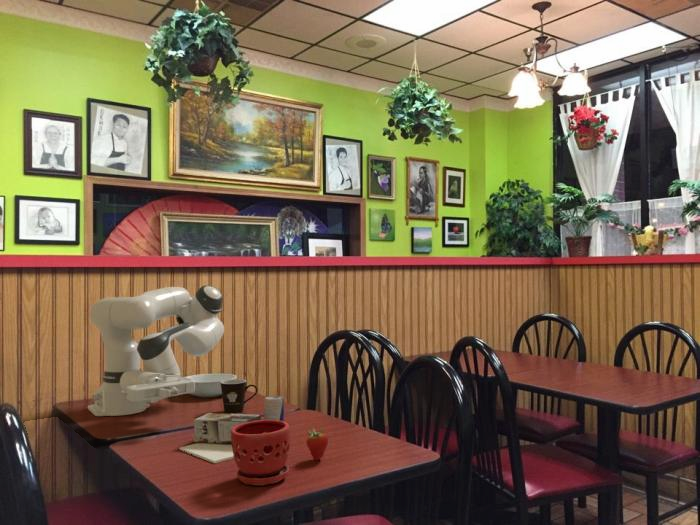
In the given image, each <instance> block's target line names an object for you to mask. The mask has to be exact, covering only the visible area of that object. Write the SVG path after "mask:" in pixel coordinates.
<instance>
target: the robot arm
mask: <svg viewBox="0 0 700 525" xmlns="http://www.w3.org/2000/svg"><path fill="white" fill-rule="evenodd" d="M223 299H224V298H223V294H222V292H221V291H220V290H219V289H218V288H217V287H215V286H213V285H207V284H206V285H202V286H201V287H200V288H198V289H197V290H196V291H195V294H194V295H193V296H192V297H191V294H190V292H189V291H188V290H187V289H186V288H184V287H182V286H167V287H162V288H157V289H153V290H148V291H144V292H142V293H141V294H140V295H137V296H125V297H122V296H121V297H117V296H115V297H112V296H110V297H109V296H108V297H104V298H102V299H98V300H95V302H94V303H92V305H91V307H90V311H89V317H90V320H91V323H93V324H94V325H95V327H96V328H97V329H98V331H99V333H100V336H101V339H102V341H103V346H104V355H105V370H104V371H103V376H102V377H103V379H102V381H103V382H102V383H101V384H100V386H99V388H98V389H97V390H96V391H95V392H94V394H92V401H93V402H94V404H89V405H87V410H88V411H89V412H91V414H92V415H94V416H95V417H104V416H105V417H107V416H110V417H113V416H114V417H115V416H116V417H117V416H127V415H133V414H137V413H142V412H144V411H146V409H148V408H150V406H151V404H152V403H157V402H159V401H160V400H164V399H166V398H169V397H175V396H179V395H186V394H189V393H193V392H194V391H195V381H194V380H192V379H189V378H186V377H187V376H181V375H182V373H181V370H180V367H179V365H178V361H177V359H176V357H175V354H174V352H173V349H172V346H171V342H172V341H174V340H176V341H177V342H178V344H179V345H180V347H181V349H182V350H183V351H184V352H185V353H187V354H188V355H190V356H194V357H202V356H205V355H207V354H208V353H209V352H211V351H212V350H213V349H214V348H215V347H216V346H217V345H218V343H220V341H221V340H222V337H223V335H224V334H225V326H224V323H223V322H222V320H220V319H219V317H218V315H219V313H221V312H222V307H223V306H222V305H223ZM173 316H176V317H175V319H176V322H177V324H175V325H173V326H170V327H168V328H165V329H162V330H160V331H158V332H154V333H150V334H147V335H145V336H143V338H141V339H140V340H139V342H137V341H135V340H134V338H133V336H132V334H131V331H138V330H142V329H147V328H149V327H150V326H152V325H153V323H154V322H156V321H159V320H163V319H166V318H170V317H173ZM141 361H142V364H143V366H144V368H145V369H142V368H141Z"/></svg>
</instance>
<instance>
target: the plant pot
mask: <svg viewBox="0 0 700 525" xmlns="http://www.w3.org/2000/svg"><path fill="white" fill-rule="evenodd" d="M265 432H267V433H265ZM290 438H291V433H290V425H289V423H288V422H286V421H285V420H284V421H279V420H265V419H261V420H259V421H252V422H247V423H243V424H240V425H237V426H235V427H234V428H232V430H231V443H232V450H233V455H234V458H233V459H234V461H235V464H236V467H237V468H238V470H237V472H236V477H237V478H238V480H239V481H241V482H242V483H244V484H245V485H250V486H251V485H252V486H258V487H261V486H266V485H272V484H275V483H278V482H280V481H283V479H285V478H286V477H287V476H288V474H289V471H290V467H289V466H288V465H287V464H286V463H287V461H288V457H289V453H290V444H291V442H290V441H291V439H290ZM238 445H239V447H238Z"/></svg>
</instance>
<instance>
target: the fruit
mask: <svg viewBox="0 0 700 525" xmlns="http://www.w3.org/2000/svg"><path fill="white" fill-rule="evenodd" d="M323 432H324V430H323V429H322V428H319V431H316V429H315V428H314V427H312V431H311V430H310V429H308V432H307V435H309V436H308V437H307V439H306V441H305V443H306V445H307V448H308V449H309V451H310V454H311V457H312V458H313V460H314V461H320V460H321V459H322V458H323V456H324V454H325V452H326V449H327V446H328V443H329V438H328V436H327V435H326V434H324V433H323Z"/></svg>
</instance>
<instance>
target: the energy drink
mask: <svg viewBox="0 0 700 525" xmlns="http://www.w3.org/2000/svg"><path fill="white" fill-rule="evenodd" d="M263 402H264V406H263V407H264V408H263V409H264V410H263V411H264V420H279V421H284V422H285V400H284V397H283V396H282V395H281V396H280V395H270V396H266V397H264V401H263ZM264 433H267V432H264Z"/></svg>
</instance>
